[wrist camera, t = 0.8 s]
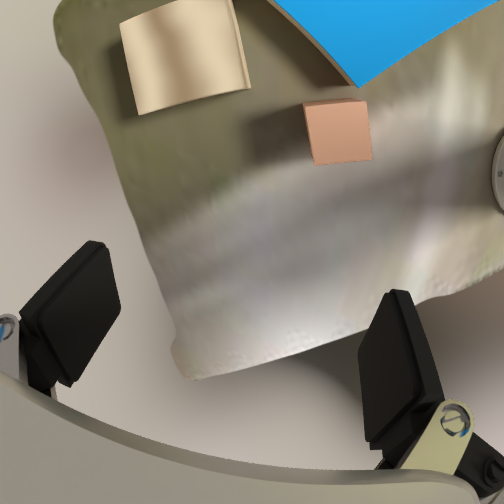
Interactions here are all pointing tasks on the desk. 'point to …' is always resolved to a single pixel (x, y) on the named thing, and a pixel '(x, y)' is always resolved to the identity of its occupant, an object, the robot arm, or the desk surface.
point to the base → (184, 53)
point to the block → (338, 131)
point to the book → (373, 29)
